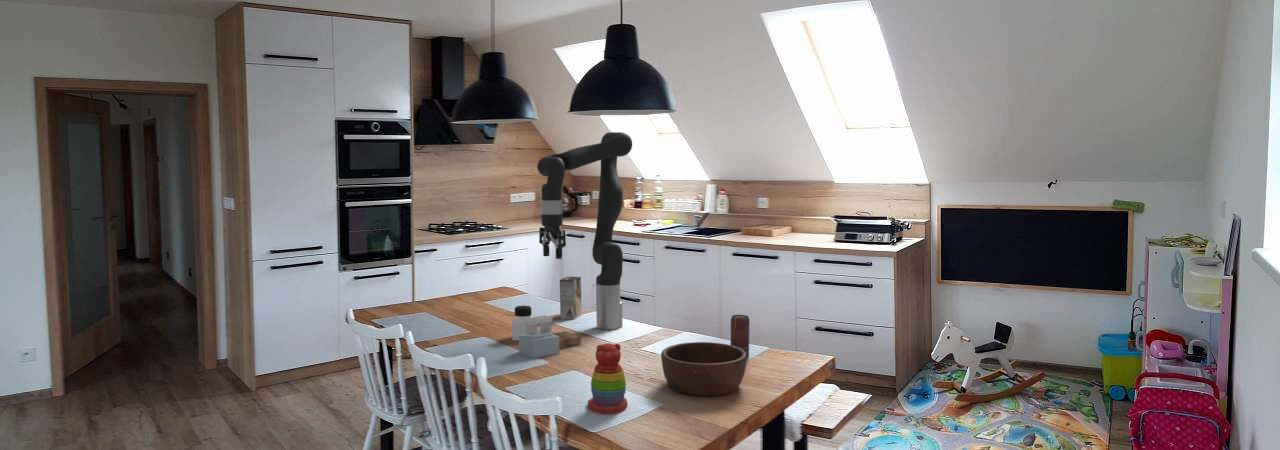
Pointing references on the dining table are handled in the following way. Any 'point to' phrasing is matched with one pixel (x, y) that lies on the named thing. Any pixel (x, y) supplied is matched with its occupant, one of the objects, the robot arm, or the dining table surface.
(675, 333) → the dining table surface
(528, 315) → the medicine bottle
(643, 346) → the dining table surface
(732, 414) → the dining table surface
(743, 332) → the can
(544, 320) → the housing
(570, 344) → the stand
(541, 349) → the stand
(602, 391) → the stacking bear
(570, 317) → the coffee box
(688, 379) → the wooden bowl
